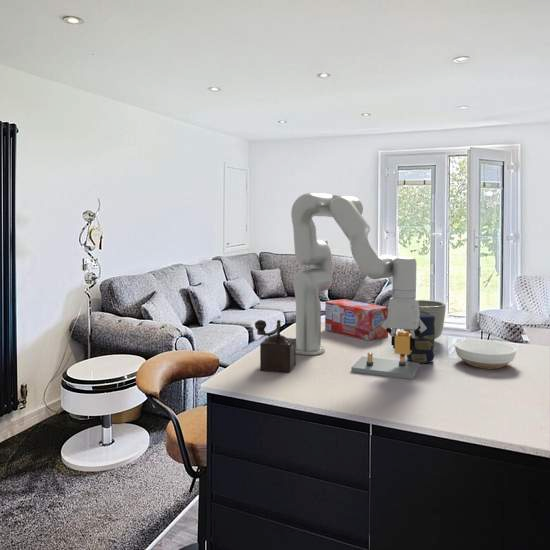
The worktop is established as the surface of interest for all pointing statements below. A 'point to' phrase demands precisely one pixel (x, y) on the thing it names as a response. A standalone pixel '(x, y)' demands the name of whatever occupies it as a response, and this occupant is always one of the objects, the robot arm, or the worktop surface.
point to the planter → (434, 313)
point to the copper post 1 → (369, 360)
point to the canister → (424, 340)
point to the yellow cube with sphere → (402, 343)
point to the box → (356, 319)
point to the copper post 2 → (402, 360)
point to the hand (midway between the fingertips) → (403, 347)
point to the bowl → (485, 353)
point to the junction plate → (386, 368)
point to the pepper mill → (276, 350)
